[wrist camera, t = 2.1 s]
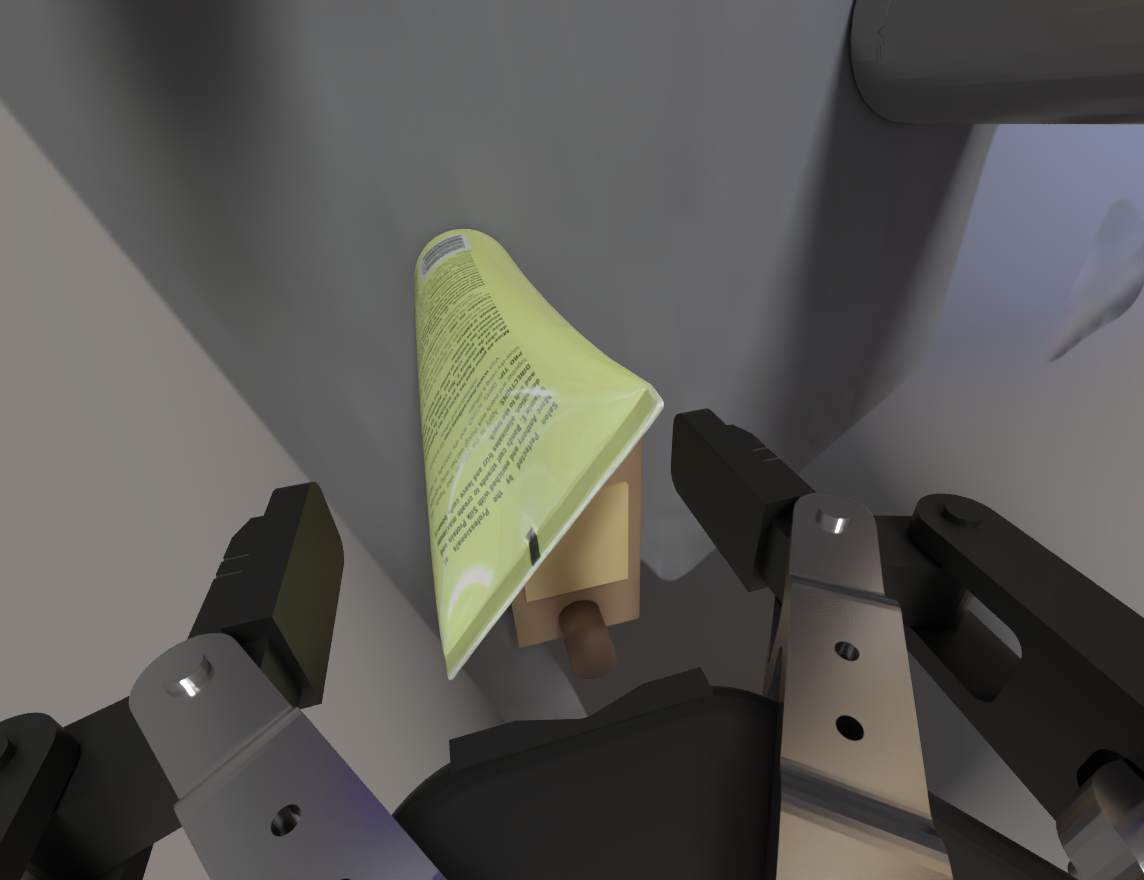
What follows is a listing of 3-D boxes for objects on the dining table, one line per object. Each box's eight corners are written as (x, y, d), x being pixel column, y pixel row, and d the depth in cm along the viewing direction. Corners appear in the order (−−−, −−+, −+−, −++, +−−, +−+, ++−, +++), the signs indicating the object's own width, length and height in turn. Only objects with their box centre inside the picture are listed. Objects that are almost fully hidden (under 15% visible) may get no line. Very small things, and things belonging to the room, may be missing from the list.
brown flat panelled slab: (625, 383, 31) (672, 443, 25) (625, 587, 40) (659, 665, 35) (475, 408, 29) (489, 478, 23) (513, 614, 39) (529, 700, 33)
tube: (525, 329, 28) (672, 621, 11) (431, 348, 27) (446, 689, 11) (505, 217, 24) (669, 400, 8) (398, 235, 24) (349, 476, 8)
